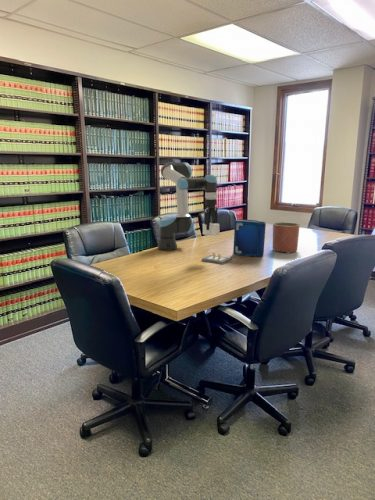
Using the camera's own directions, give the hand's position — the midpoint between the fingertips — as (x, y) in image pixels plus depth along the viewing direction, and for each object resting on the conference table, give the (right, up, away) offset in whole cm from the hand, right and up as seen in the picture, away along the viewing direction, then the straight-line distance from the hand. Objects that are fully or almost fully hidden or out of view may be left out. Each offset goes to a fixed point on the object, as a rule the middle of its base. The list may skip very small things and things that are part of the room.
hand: (211, 233), depth 245 cm
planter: (+57, -11, +30) cm, 65 cm away
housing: (0, 0, 0) cm, 0 cm away
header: (+4, -18, +2) cm, 18 cm away
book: (+28, -15, +16) cm, 35 cm away
